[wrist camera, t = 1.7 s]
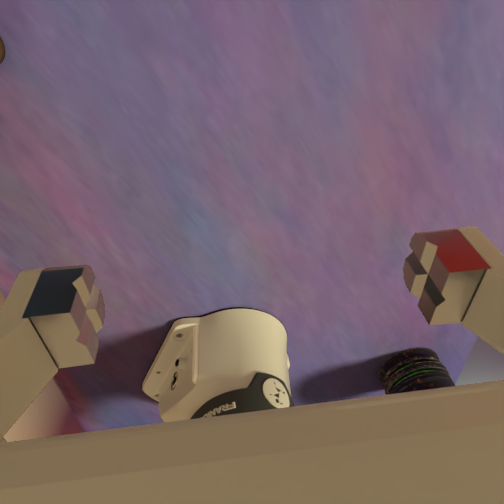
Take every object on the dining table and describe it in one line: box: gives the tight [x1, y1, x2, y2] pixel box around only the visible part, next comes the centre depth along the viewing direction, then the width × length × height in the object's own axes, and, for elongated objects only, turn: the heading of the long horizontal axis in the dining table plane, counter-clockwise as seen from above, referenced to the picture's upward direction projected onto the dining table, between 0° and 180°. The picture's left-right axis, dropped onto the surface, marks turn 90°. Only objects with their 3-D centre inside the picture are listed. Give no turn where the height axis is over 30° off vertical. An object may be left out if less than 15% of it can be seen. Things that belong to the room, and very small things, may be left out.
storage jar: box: [379, 347, 455, 395], centre depth 59 cm, size 10×10×15 cm
